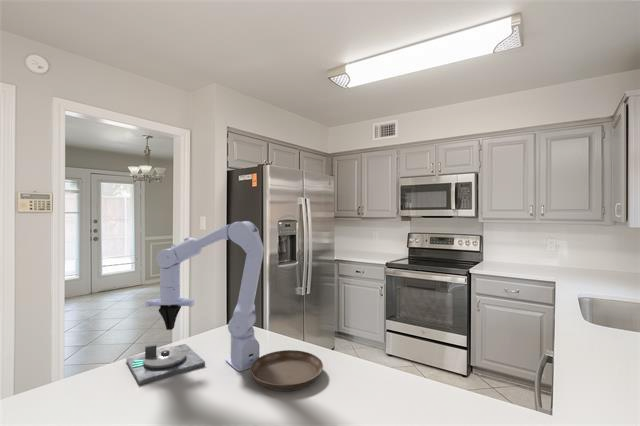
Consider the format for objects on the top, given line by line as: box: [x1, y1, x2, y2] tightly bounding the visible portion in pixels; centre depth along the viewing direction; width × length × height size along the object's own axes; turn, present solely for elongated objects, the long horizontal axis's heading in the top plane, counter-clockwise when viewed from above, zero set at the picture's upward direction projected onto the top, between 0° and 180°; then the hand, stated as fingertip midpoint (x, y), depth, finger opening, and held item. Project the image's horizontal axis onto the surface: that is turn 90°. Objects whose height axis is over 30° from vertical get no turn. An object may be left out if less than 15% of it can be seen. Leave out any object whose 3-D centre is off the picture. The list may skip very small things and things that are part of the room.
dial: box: [143, 343, 186, 368], centre depth 103 cm, size 12×12×5 cm
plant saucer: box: [250, 349, 324, 392], centre depth 96 cm, size 21×21×3 cm
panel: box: [125, 343, 206, 386], centre depth 103 cm, size 18×18×2 cm
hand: (170, 328), depth 106 cm, fingers closed
